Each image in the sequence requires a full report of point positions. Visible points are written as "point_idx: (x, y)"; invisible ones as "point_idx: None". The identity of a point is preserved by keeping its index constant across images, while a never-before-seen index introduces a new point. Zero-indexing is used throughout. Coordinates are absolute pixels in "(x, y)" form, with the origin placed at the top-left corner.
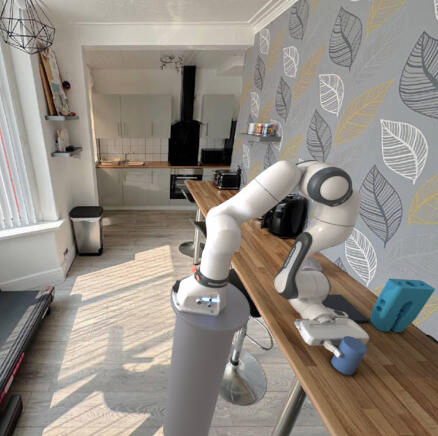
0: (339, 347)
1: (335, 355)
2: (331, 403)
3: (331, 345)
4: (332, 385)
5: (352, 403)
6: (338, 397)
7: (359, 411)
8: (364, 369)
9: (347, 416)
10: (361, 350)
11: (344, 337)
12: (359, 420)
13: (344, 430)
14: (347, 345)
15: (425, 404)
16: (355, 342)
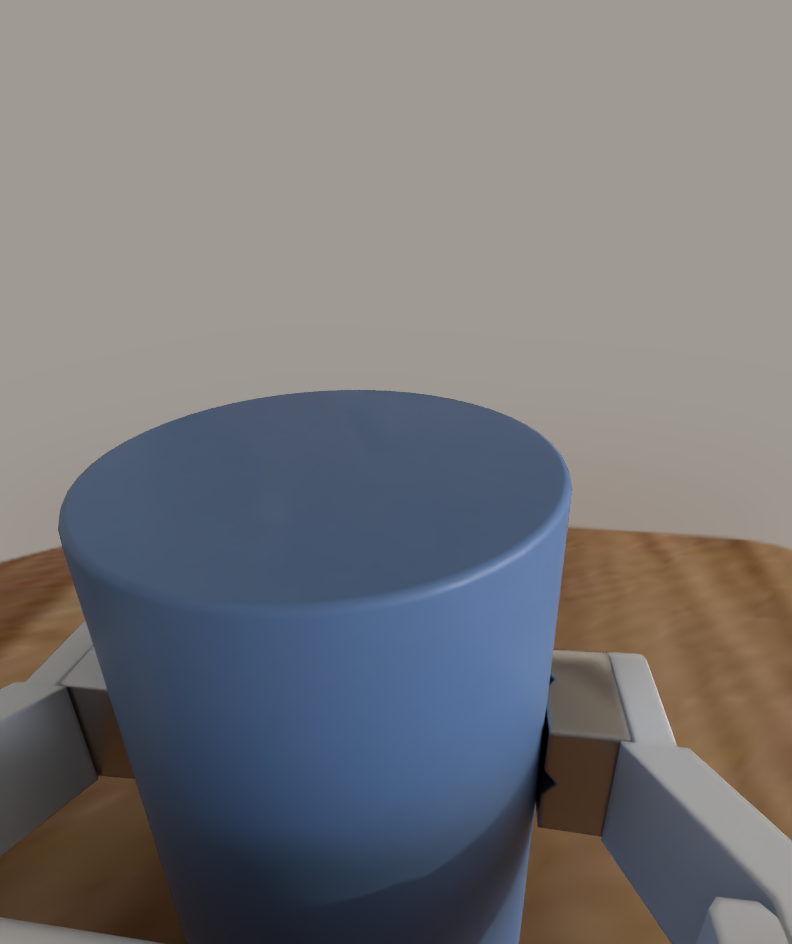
0: (524, 769)
1: (509, 932)
2: (778, 637)
3: (757, 830)
4: (691, 745)
5: (586, 620)
6: (686, 660)
7: (570, 585)
8: (88, 844)
9: (685, 577)
10: (353, 399)
11: (415, 576)
12: (611, 559)
13: (749, 541)
14: (554, 453)
15: (47, 567)
16: (258, 470)
